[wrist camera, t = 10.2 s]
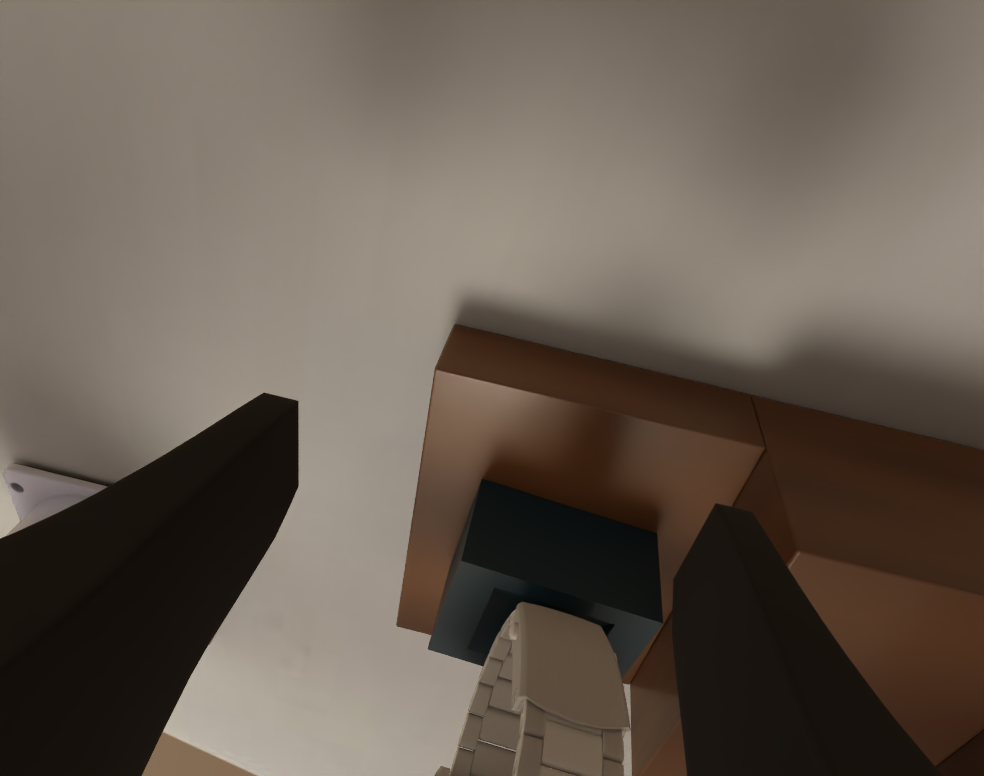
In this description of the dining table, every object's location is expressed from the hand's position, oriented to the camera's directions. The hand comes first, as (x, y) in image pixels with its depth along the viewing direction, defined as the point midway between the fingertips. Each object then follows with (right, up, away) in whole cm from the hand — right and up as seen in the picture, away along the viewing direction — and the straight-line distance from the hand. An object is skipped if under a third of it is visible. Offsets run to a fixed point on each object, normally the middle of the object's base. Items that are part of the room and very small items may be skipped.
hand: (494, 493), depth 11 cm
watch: (+2, -3, +10) cm, 10 cm away
